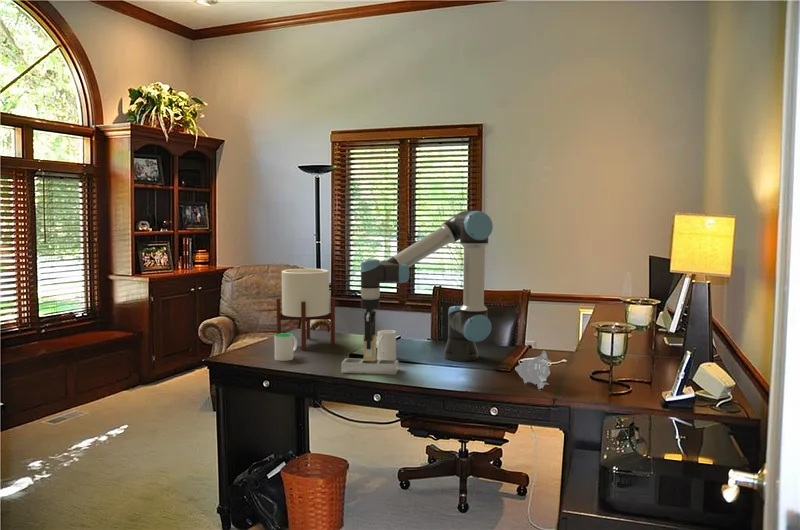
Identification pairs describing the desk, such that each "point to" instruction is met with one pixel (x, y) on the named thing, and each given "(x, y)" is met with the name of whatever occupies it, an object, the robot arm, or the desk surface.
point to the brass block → (372, 349)
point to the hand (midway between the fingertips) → (370, 355)
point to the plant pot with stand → (305, 300)
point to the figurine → (535, 370)
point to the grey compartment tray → (369, 366)
